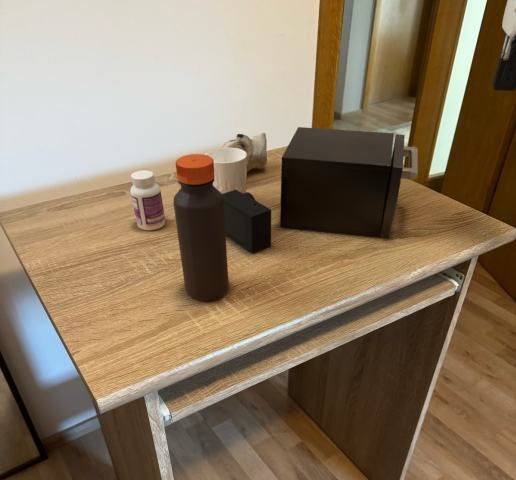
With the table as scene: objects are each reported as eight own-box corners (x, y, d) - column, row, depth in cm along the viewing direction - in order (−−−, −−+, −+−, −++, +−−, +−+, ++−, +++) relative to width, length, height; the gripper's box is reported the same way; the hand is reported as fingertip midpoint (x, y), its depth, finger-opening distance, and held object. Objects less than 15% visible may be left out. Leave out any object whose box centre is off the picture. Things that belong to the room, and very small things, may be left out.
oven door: (406, 201, 98) (419, 135, 89) (404, 239, 86) (420, 169, 78) (384, 198, 98) (395, 134, 90) (380, 237, 87) (392, 166, 78)
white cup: (202, 210, 96) (197, 159, 89) (219, 194, 101) (216, 145, 95) (238, 216, 94) (236, 165, 87) (254, 199, 99) (253, 150, 93)
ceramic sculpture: (280, 130, 104) (223, 151, 98) (281, 170, 110) (228, 192, 104) (249, 119, 110) (194, 138, 104) (252, 157, 116) (200, 177, 110)
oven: (382, 199, 99) (394, 133, 90) (378, 237, 87) (390, 165, 78) (295, 191, 102) (298, 126, 93) (280, 227, 90) (281, 157, 82)
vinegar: (206, 272, 79) (194, 147, 66) (238, 287, 76) (231, 158, 63) (176, 291, 75) (156, 162, 62) (207, 307, 72) (194, 175, 59)
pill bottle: (169, 218, 93) (162, 169, 87) (161, 232, 90) (152, 181, 83) (142, 217, 94) (133, 167, 88) (133, 230, 90) (122, 179, 84)
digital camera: (277, 244, 86) (277, 207, 81) (252, 254, 83) (251, 216, 79) (242, 222, 92) (241, 186, 87) (218, 231, 89) (216, 195, 85)
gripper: (596, -66, 56) (538, 104, 69) (567, -69, 67) (521, 78, 80) (527, -66, 58) (482, 101, 70) (509, -69, 69) (473, 76, 81)
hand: (503, 88), depth 75 cm, fingers closed
